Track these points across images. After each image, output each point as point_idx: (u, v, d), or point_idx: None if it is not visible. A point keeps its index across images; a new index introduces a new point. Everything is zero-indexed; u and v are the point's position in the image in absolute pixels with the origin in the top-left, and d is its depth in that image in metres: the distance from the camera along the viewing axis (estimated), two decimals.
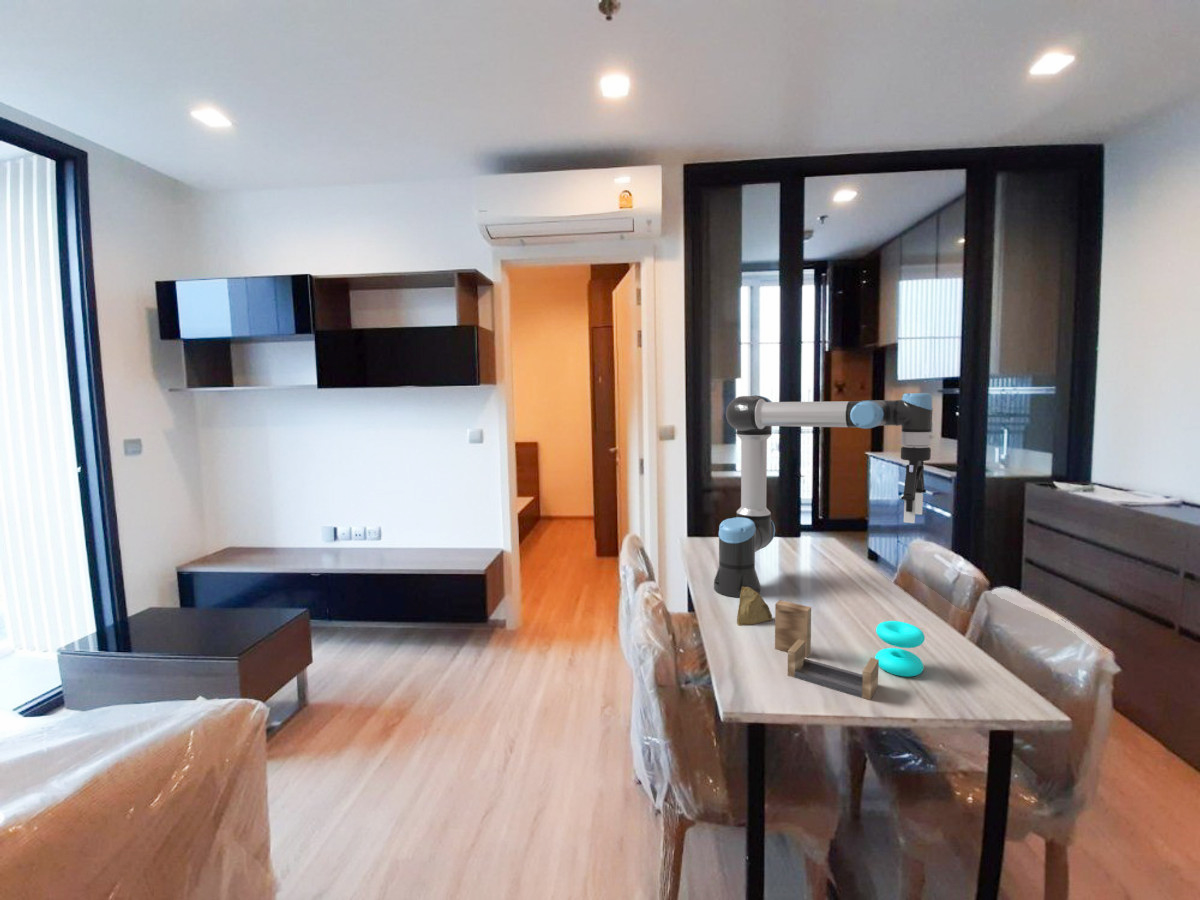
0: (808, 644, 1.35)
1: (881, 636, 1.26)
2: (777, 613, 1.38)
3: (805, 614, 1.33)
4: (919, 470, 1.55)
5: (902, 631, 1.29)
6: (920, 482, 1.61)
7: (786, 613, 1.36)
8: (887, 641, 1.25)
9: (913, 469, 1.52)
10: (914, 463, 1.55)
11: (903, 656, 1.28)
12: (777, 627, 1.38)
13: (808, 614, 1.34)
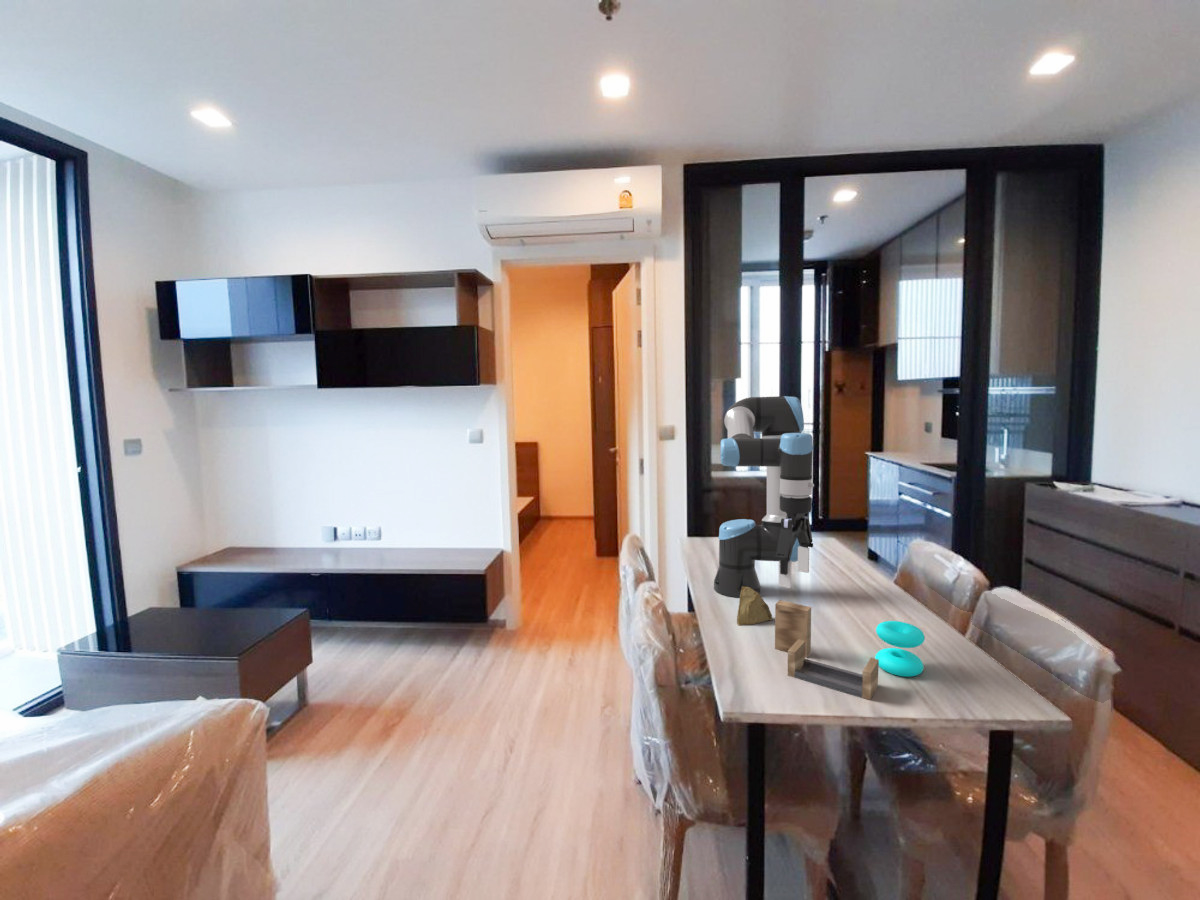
0: (808, 644, 1.35)
1: (881, 636, 1.26)
2: (777, 613, 1.38)
3: (805, 614, 1.33)
4: (798, 524, 1.32)
5: (902, 631, 1.29)
6: (804, 536, 1.38)
7: (786, 613, 1.36)
8: (887, 641, 1.25)
9: (788, 524, 1.29)
10: (791, 516, 1.31)
11: (903, 656, 1.28)
12: (777, 627, 1.38)
13: (808, 614, 1.34)
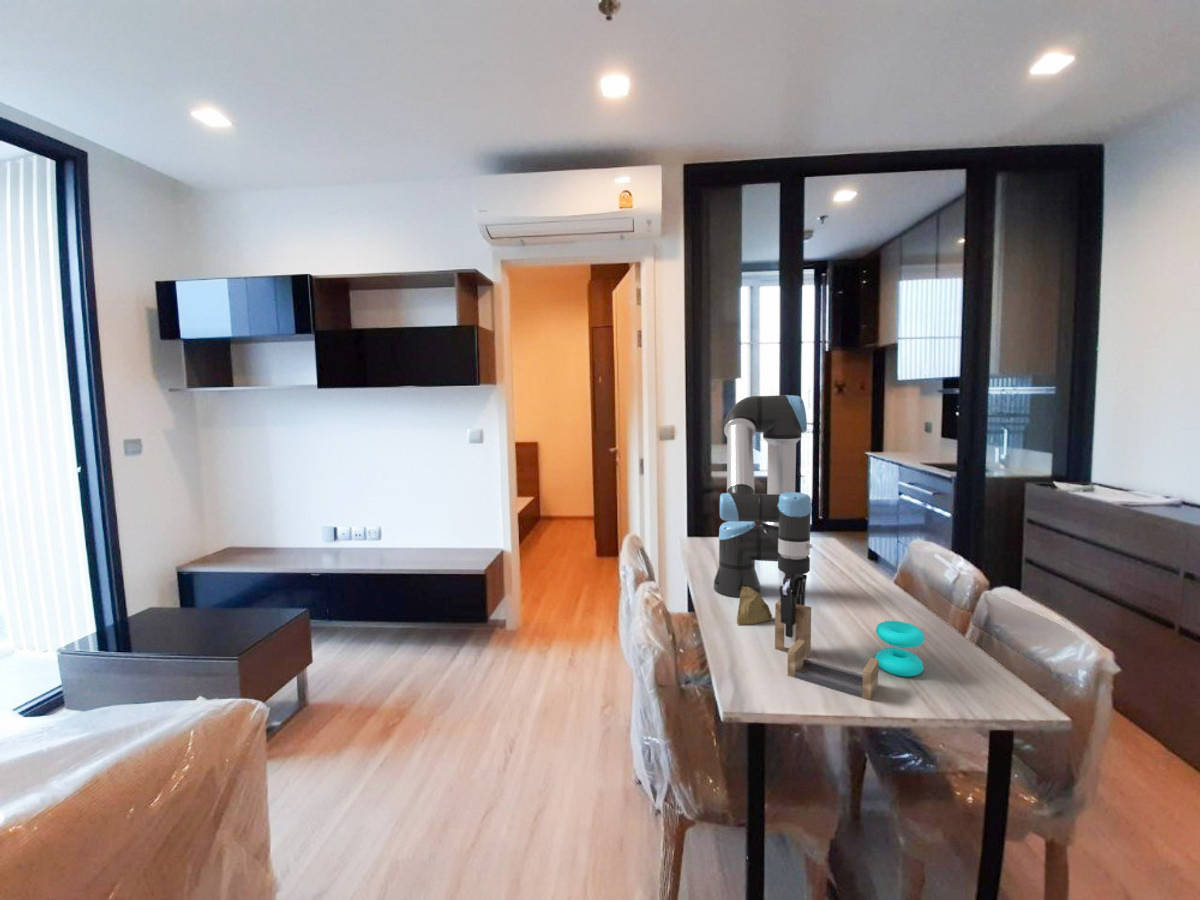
0: (808, 644, 1.35)
1: (881, 636, 1.26)
2: (777, 613, 1.38)
3: (805, 614, 1.33)
4: (796, 586, 1.34)
5: (902, 631, 1.29)
6: (798, 601, 1.37)
7: None
8: (887, 641, 1.25)
9: (787, 593, 1.31)
10: (789, 577, 1.33)
11: (903, 656, 1.28)
12: (777, 627, 1.38)
13: (808, 614, 1.34)
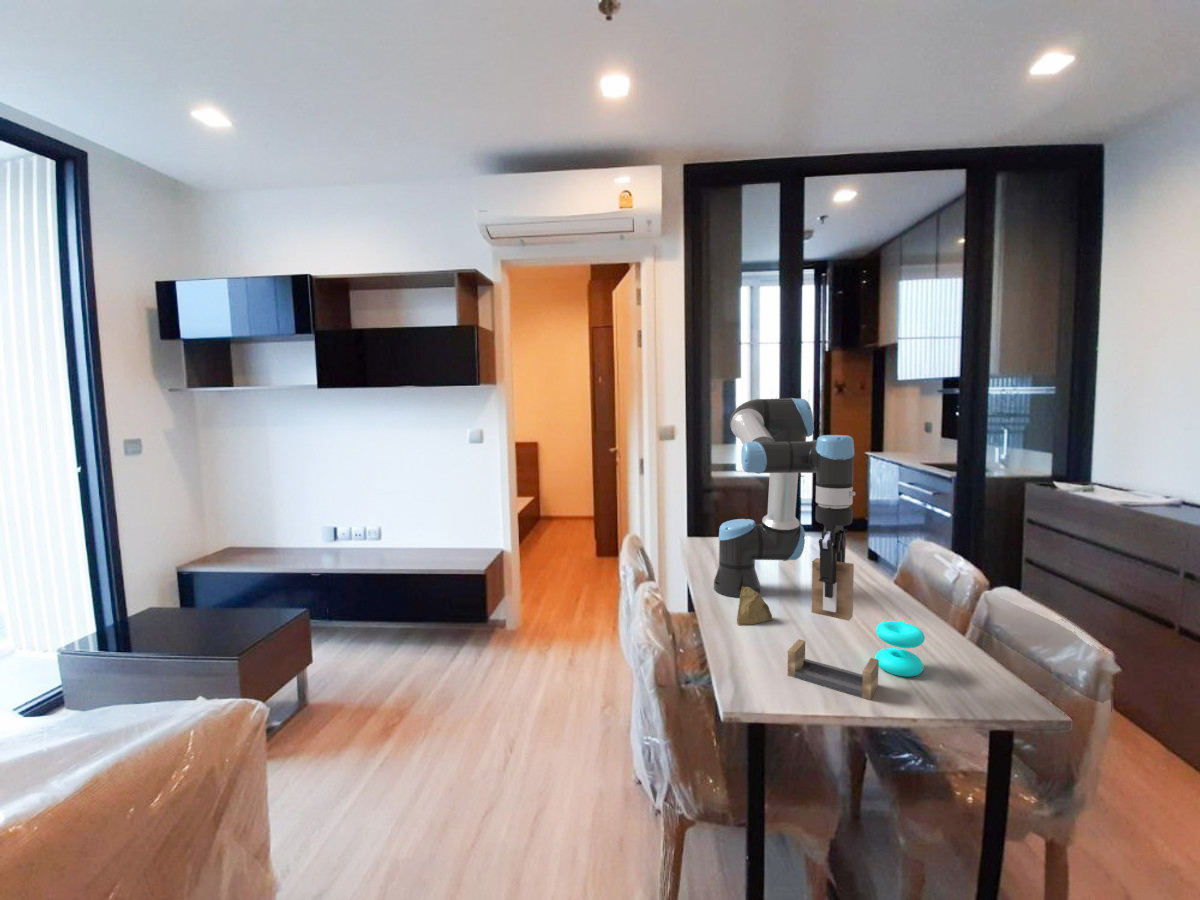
0: (850, 605, 1.19)
1: (881, 636, 1.26)
2: (814, 571, 1.22)
3: (847, 571, 1.18)
4: (837, 539, 1.18)
5: (902, 631, 1.29)
6: (839, 557, 1.22)
7: None
8: (887, 641, 1.25)
9: (827, 546, 1.15)
10: (830, 529, 1.17)
11: (903, 656, 1.28)
12: (814, 587, 1.23)
13: (850, 571, 1.18)
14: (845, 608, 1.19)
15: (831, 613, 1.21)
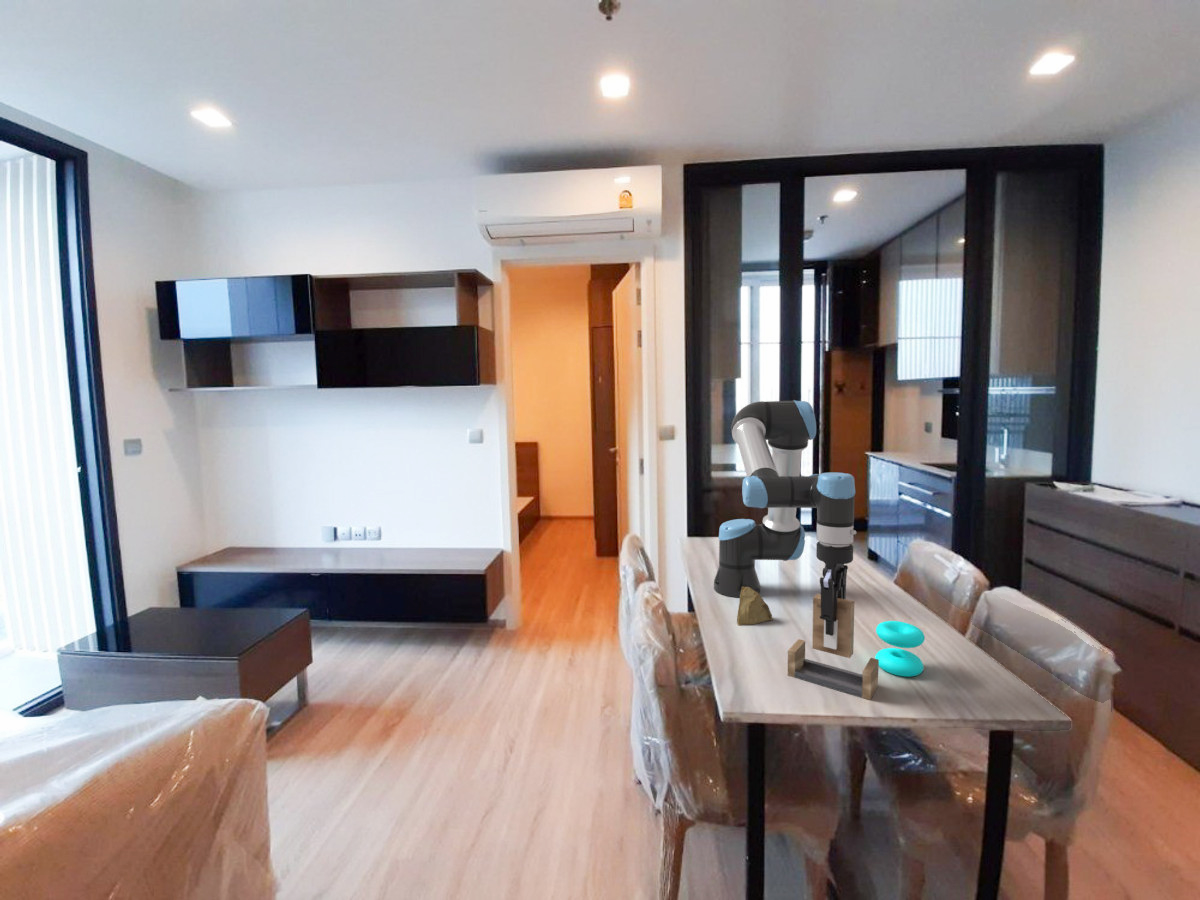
0: (851, 643, 1.20)
1: (881, 636, 1.26)
2: (815, 608, 1.23)
3: (848, 609, 1.18)
4: (838, 577, 1.19)
5: (902, 631, 1.29)
6: (839, 594, 1.22)
7: None
8: (887, 641, 1.25)
9: (828, 585, 1.16)
10: (831, 567, 1.18)
11: (903, 656, 1.28)
12: (815, 624, 1.23)
13: (851, 609, 1.18)
14: (846, 646, 1.19)
15: (832, 649, 1.21)
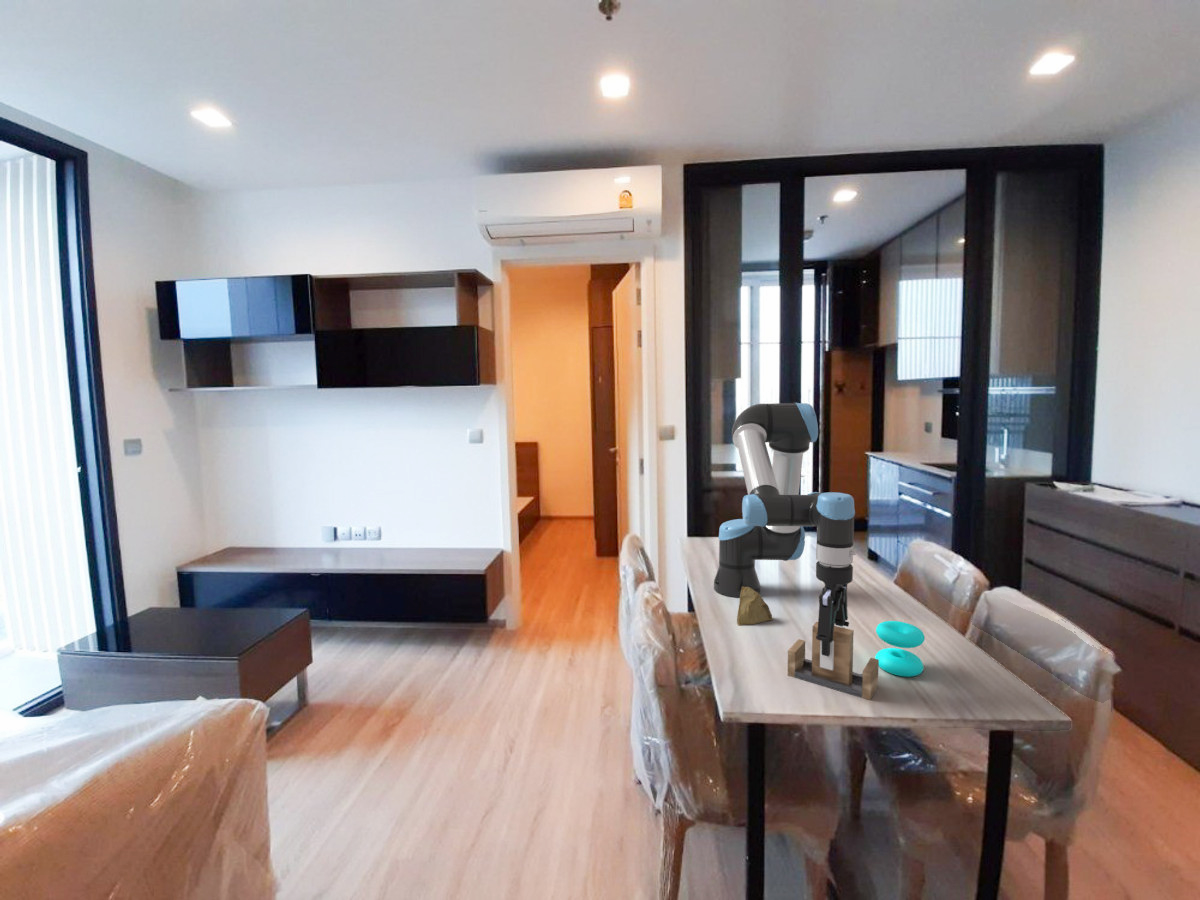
0: (850, 672, 1.21)
1: (881, 636, 1.26)
2: (814, 636, 1.23)
3: (847, 638, 1.19)
4: (837, 597, 1.19)
5: (902, 631, 1.29)
6: (841, 610, 1.24)
7: None
8: (887, 641, 1.25)
9: (827, 602, 1.16)
10: (830, 587, 1.18)
11: (903, 656, 1.28)
12: (814, 652, 1.24)
13: (850, 638, 1.19)
14: (845, 675, 1.20)
15: (831, 678, 1.22)
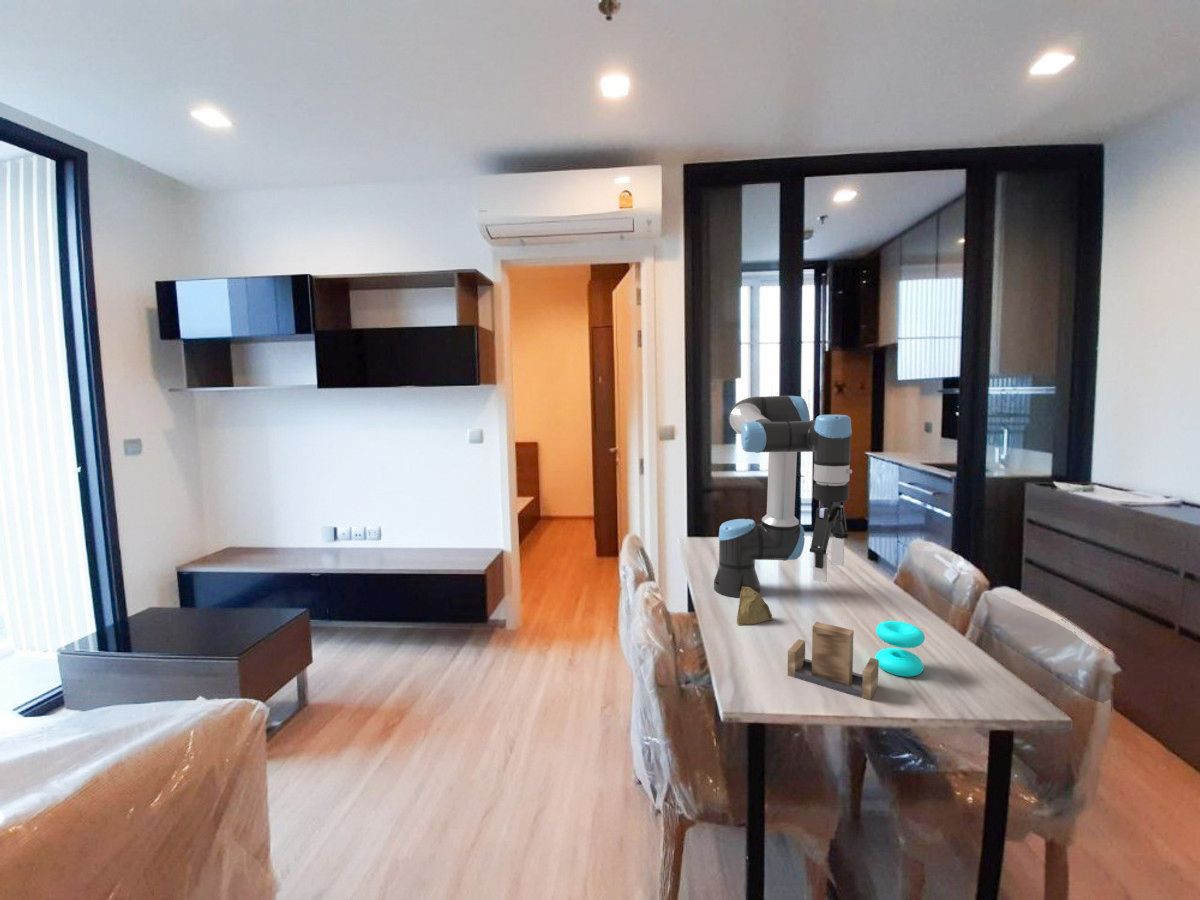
0: (850, 672, 1.21)
1: (881, 636, 1.26)
2: (814, 636, 1.23)
3: (847, 638, 1.19)
4: (834, 514, 1.22)
5: (902, 631, 1.29)
6: (839, 526, 1.28)
7: (825, 636, 1.22)
8: (887, 641, 1.25)
9: (824, 514, 1.19)
10: (827, 505, 1.21)
11: (903, 656, 1.28)
12: (814, 652, 1.24)
13: (850, 638, 1.19)
14: (845, 675, 1.20)
15: (831, 678, 1.22)
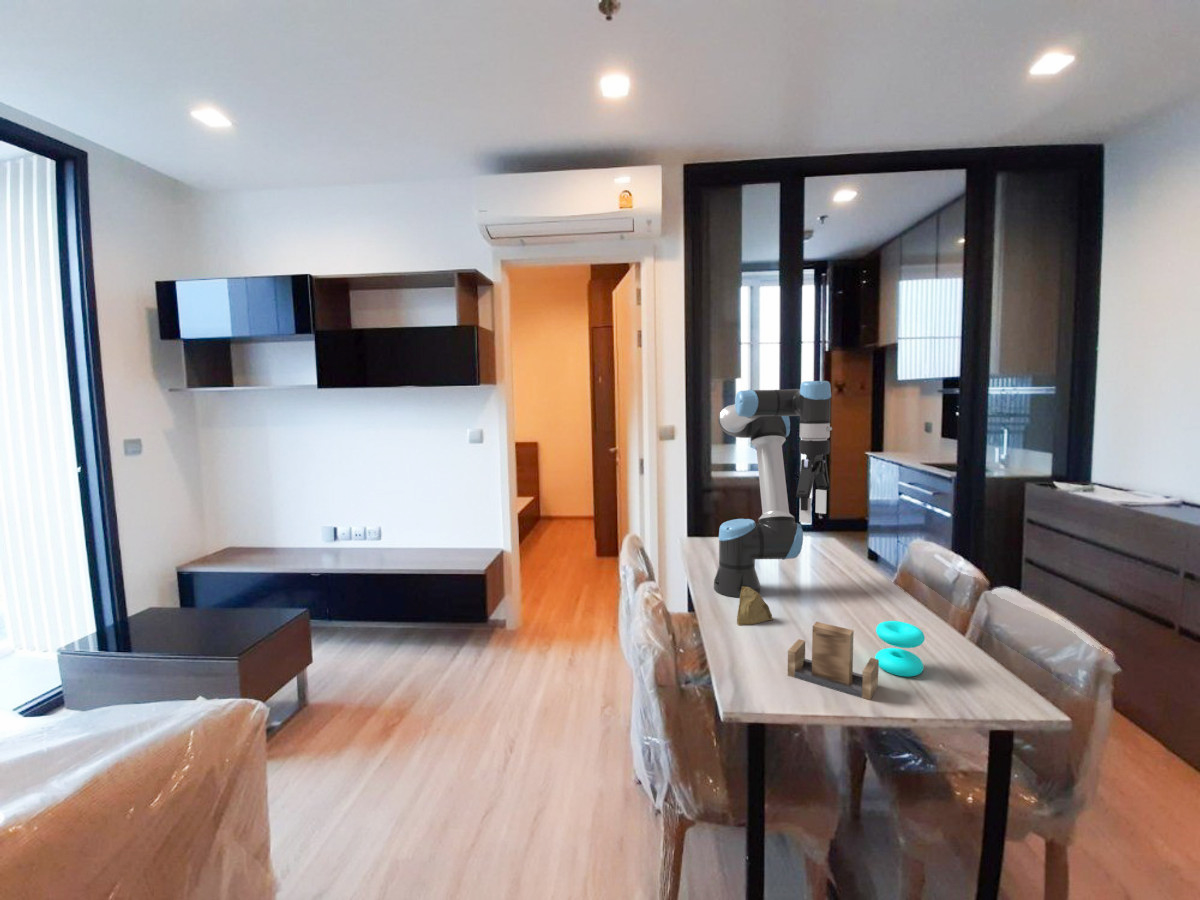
0: (850, 672, 1.21)
1: (881, 636, 1.26)
2: (814, 636, 1.23)
3: (847, 638, 1.19)
4: (817, 465, 1.42)
5: (902, 631, 1.29)
6: (822, 478, 1.48)
7: (825, 636, 1.22)
8: (887, 641, 1.25)
9: (808, 464, 1.39)
10: (811, 457, 1.42)
11: (903, 656, 1.28)
12: (814, 652, 1.24)
13: (850, 638, 1.19)
14: (845, 675, 1.20)
15: (831, 678, 1.22)
